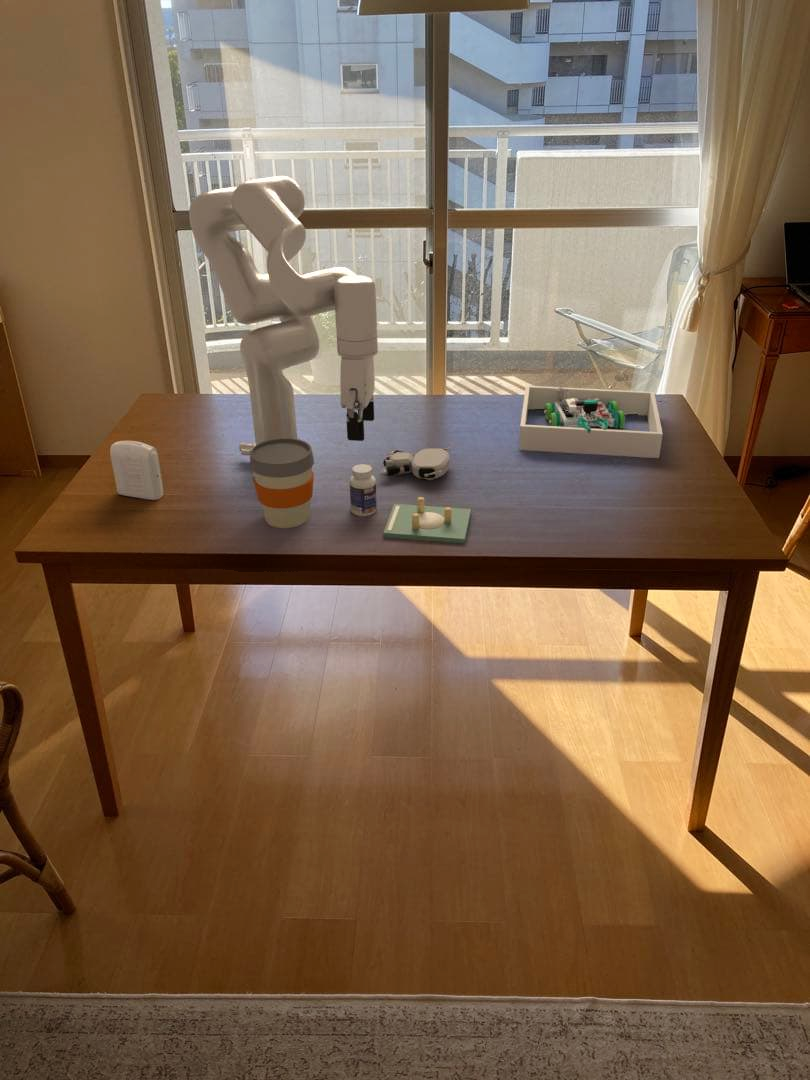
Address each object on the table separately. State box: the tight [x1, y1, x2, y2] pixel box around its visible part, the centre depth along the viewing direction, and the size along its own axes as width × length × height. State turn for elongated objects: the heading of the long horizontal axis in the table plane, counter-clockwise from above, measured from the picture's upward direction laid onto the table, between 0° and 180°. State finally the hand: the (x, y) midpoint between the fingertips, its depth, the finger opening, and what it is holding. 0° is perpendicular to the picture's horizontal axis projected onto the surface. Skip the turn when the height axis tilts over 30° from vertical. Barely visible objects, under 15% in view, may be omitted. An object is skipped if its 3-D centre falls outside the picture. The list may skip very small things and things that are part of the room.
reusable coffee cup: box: [249, 438, 315, 529], centre depth 175 cm, size 13×13×15 cm
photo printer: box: [109, 440, 164, 501], centre depth 185 cm, size 10×4×12 cm, turn 72°
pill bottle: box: [349, 463, 378, 517], centre depth 178 cm, size 5×5×10 cm
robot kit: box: [543, 386, 626, 433], centre depth 211 cm, size 19×25×9 cm
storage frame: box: [518, 385, 664, 459], centre depth 212 cm, size 32×26×6 cm
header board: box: [382, 496, 472, 544], centre depth 174 cm, size 16×12×4 cm
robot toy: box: [379, 447, 451, 481], centre depth 195 cm, size 12×4×15 cm
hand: (361, 429), depth 171 cm, fingers open, 9 cm apart
